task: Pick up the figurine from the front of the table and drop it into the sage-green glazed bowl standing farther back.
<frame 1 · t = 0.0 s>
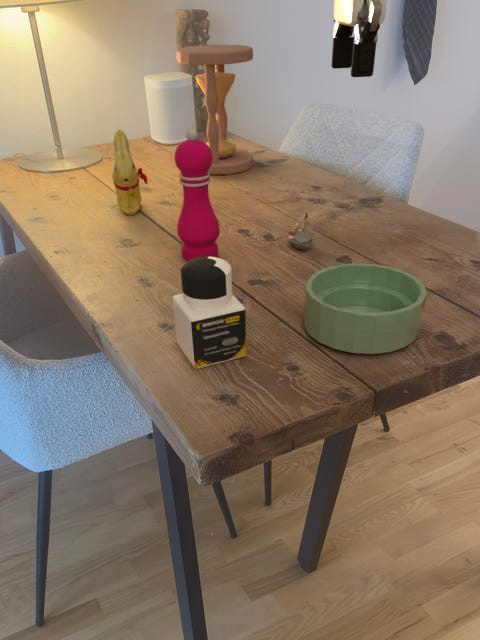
hand: (351, 72, 86), 26 cm above the table, tool pointing down, fingers open, 9 cm apart
hourglass: (219, 166, 144), on the table
figurine: (300, 248, 101), on the table
bowl: (360, 327, 78), on the table
chocolate bunny: (134, 209, 119), on the table
medicine bottle: (211, 351, 74), on the table
pepper mill: (200, 256, 99), on the table
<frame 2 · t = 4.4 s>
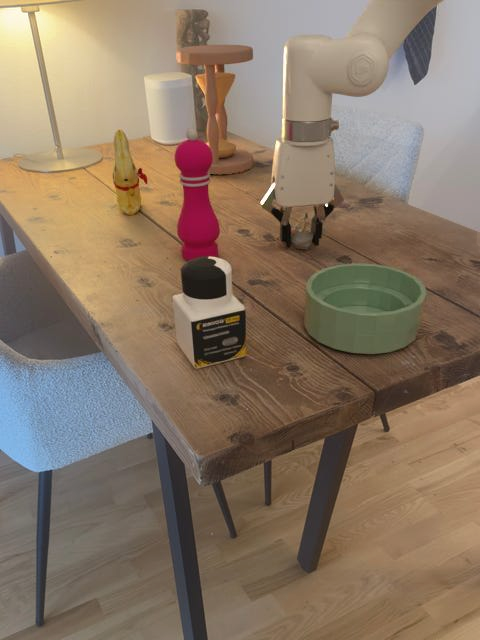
hand: (300, 242, 100), 1 cm above the table, tool pointing down, fingers closed on figurine, 4 cm apart
figurine: (300, 248, 101), on the table, touching gripper
everything else where it was.
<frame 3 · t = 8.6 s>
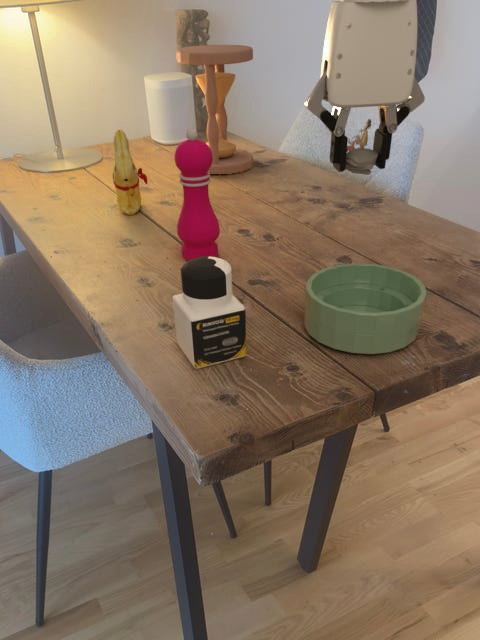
hand: (358, 165, 71), 19 cm above the table, tool pointing down, fingers closed on figurine, 4 cm apart
figurine: (357, 173, 72), point 18 cm above the table, touching gripper
everything else where it was.
when the fingers open (5 cm above the table, at t = 13.0 s): figurine drops 4 cm, resting on bowl.
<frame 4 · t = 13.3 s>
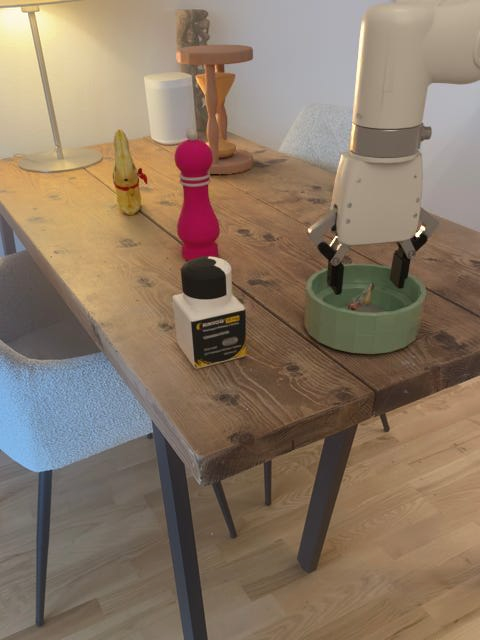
hand: (366, 286, 74), 6 cm above the table, tool pointing down, fingers open, 7 cm apart
figurine: (361, 325, 78), resting on bowl
everything else where it was.
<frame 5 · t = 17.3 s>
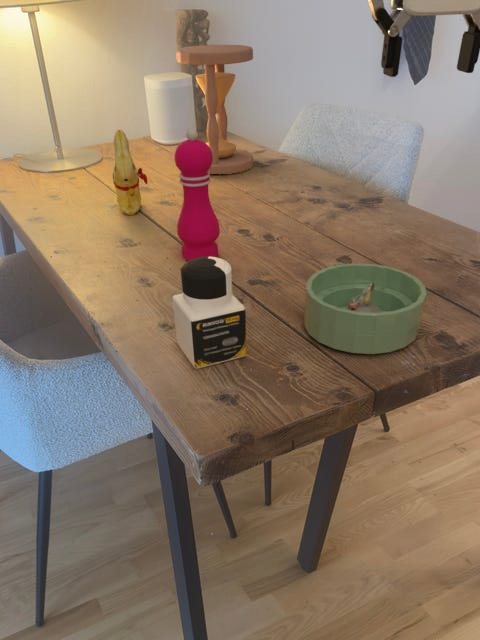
hand: (427, 73, 69), 28 cm above the table, tool pointing down, fingers open, 9 cm apart
nothing on the table moved.
at the end: figurine inside the target area in the bowl (0.2 cm from its centre), point 0.3 cm above the bowl's base; the gripper is holding nothing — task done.
